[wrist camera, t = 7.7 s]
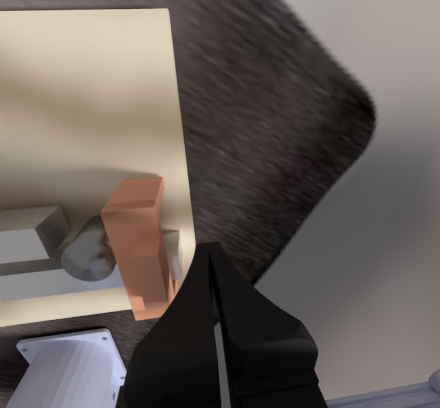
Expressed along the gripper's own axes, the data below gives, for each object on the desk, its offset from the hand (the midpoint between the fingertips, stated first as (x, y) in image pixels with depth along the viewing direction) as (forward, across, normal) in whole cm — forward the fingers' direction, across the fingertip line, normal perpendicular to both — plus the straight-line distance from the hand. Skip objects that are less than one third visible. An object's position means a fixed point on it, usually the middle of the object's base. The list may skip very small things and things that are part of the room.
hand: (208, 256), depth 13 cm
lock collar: (+4, +4, 0) cm, 5 cm away
